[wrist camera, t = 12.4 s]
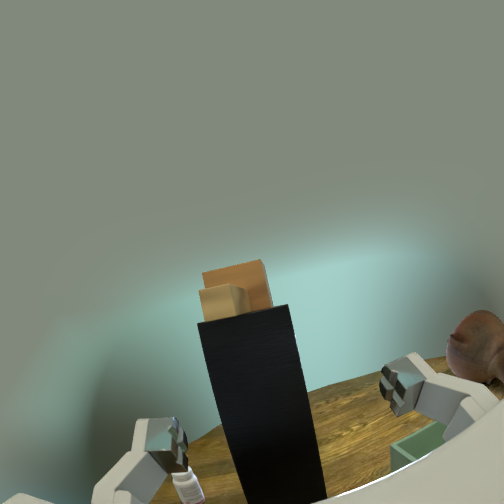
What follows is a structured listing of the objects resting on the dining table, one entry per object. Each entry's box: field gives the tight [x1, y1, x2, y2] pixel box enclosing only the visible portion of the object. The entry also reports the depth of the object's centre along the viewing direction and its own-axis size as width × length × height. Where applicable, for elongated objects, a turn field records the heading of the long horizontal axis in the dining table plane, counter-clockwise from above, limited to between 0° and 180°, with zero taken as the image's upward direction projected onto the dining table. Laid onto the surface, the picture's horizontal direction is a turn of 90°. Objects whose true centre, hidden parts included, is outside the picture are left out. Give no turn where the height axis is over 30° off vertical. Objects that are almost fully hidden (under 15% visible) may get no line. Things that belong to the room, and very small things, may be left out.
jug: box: [446, 310, 504, 384], centre depth 48 cm, size 20×20×30 cm
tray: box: [390, 420, 448, 473], centre depth 21 cm, size 22×16×10 cm
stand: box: [197, 304, 327, 504], centre depth 28 cm, size 9×9×36 cm
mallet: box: [199, 259, 273, 322], centre depth 30 cm, size 15×7×6 cm, turn 172°
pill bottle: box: [171, 467, 205, 504], centre depth 38 cm, size 5×5×8 cm
